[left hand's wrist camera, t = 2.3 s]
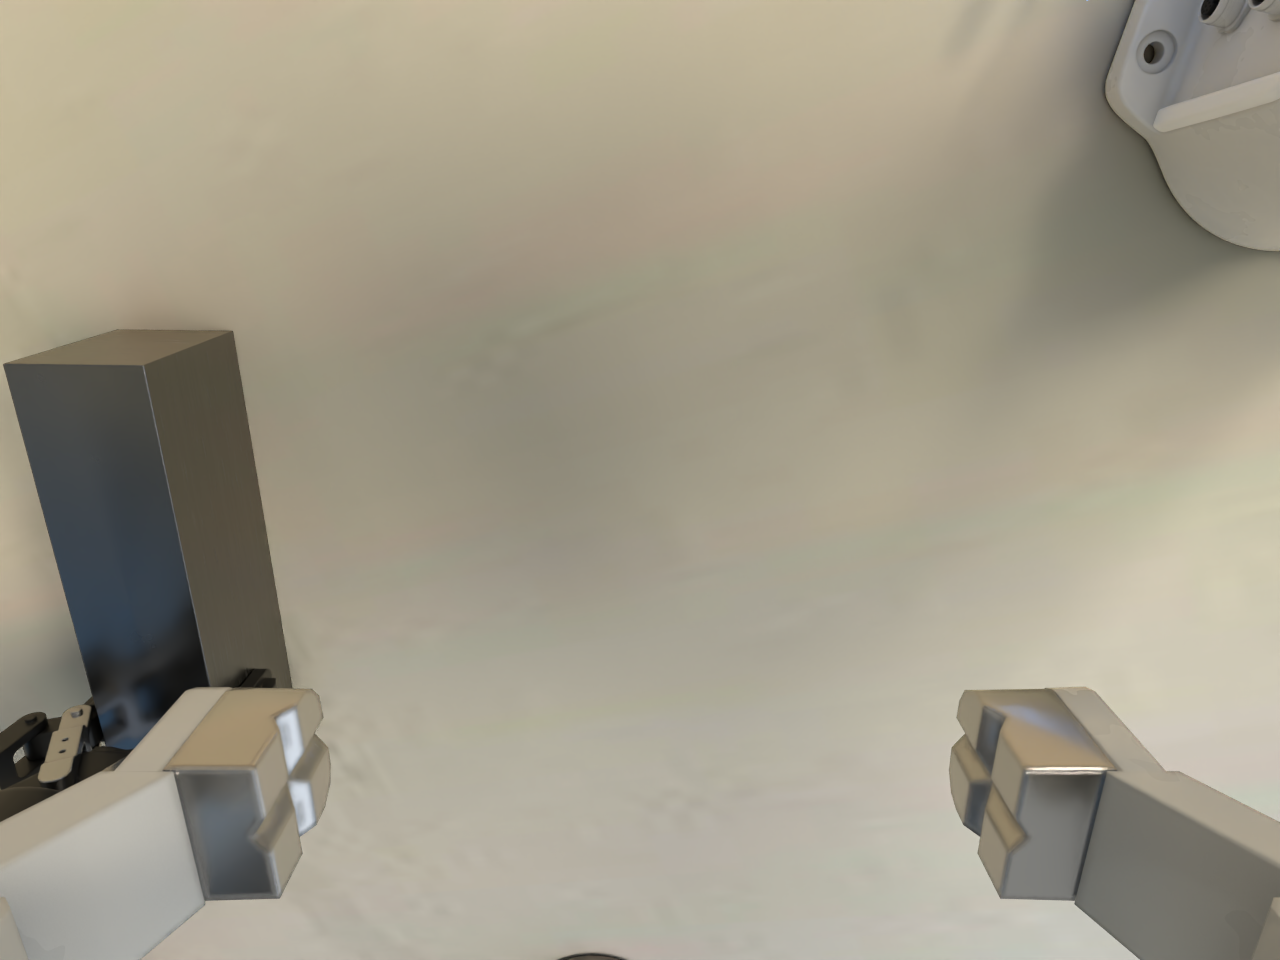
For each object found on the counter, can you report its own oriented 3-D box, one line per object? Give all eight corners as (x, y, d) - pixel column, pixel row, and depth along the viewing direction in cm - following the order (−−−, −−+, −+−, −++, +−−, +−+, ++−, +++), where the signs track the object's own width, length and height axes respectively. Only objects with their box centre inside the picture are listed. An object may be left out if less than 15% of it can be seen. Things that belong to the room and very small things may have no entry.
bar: (116, 329, 41) (2, 363, 34) (233, 330, 41) (143, 365, 34) (197, 703, 49) (118, 795, 42) (295, 704, 49) (233, 797, 42)
